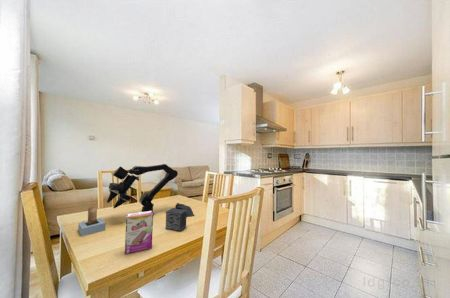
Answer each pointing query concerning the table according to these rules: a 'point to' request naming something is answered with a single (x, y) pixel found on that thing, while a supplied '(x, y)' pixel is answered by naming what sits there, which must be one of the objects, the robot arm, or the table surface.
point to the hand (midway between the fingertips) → (110, 205)
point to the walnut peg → (92, 215)
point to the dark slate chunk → (184, 207)
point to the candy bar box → (138, 231)
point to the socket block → (91, 227)
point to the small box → (176, 219)
